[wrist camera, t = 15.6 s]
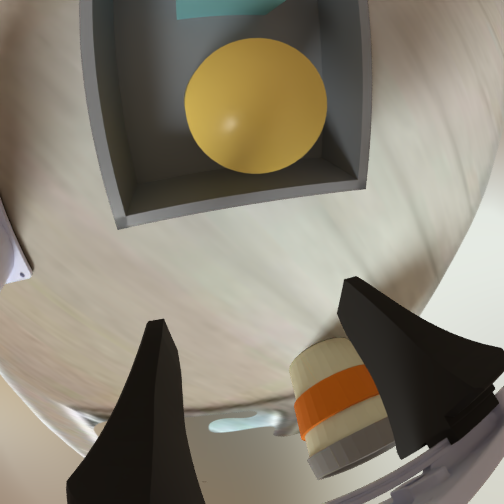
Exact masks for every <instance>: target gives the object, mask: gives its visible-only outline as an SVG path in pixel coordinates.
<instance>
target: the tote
mask: <svg viewBox="0 0 504 504" xmlns="http://www.w3.org/2000/svg"><path fill="white" fill-rule="evenodd" d="M79 17H80V45H81V59H82V69H83V79H84V87H85V94H86V101H87V107H88V113H89V119H90V125H91V130H92V135H93V140H94V145H95V149H96V154H97V158H98V162H99V166H100V170H101V174H102V178H103V182H104V186H105V189H106V193H107V197H108V200H109V203H110V207H111V210H112V213H113V217H114V220H115V223H116V226H117V229H118V230H119V229H124V228H128V227H133V226H137V225H142V224H147V223H152V222H156V221H161V220H166V219H171V218H176V217H181V216H187V215H192V214H197V213H203V212H208V211H214V210H220V209H225V208H231V207H237V206H243V205H249V204H256V203H262V202H269V201H275V200H282V199H289V198H296V197H303V196H311V195H319V194H327V193H335V192H343V191H352V190H361V189H366V181H367V172H368V161H369V149H370V134H371V114H372V51H371V33H370V20H369V9H368V0H286V1H285V2H283V3H282V4H280V5H279V6H277V7H276V8H274V9H273V10H272V11H270V12H269V13H268V14H266V15H224V16H208V17H197V18H188V19H180V20H177V14H176V0H80V7H79ZM248 38H266V39H272V40H276V41H280V42H282V43H285V44H288V45H289V46H291V47H293V48H295V49H297V50H298V51H299V52H301V53H302V54H303V55H304V56H306V57H307V58H308V59H309V60H310V62H311V63H312V64H313V65H314V66H315V68H316V69H317V71H318V73H319V74H320V76H321V79H322V81H323V84H324V87H325V90H326V96H327V113H326V119H325V123H324V126H323V129H322V131H321V133H320V135H319V137H318V139H317V141H316V142H315V144H314V145H313V146H312V147H311V149H310V150H309V151H308V152H307V153H306V154H305V155H304V156H303V157H302V158H300V159H299V160H297V161H296V162H295V163H293V164H291V165H289V166H287V167H285V168H282V169H280V170H277V171H273V172H269V173H262V174H250V173H242V172H237V171H234V170H231V169H228V168H226V167H224V166H222V165H220V164H218V163H217V162H215V161H214V160H212V159H211V158H210V157H209V156H208V155H206V154H205V153H204V151H203V150H202V149H201V148H200V147H199V146H198V144H197V142H196V141H195V139H194V138H193V135H192V133H191V131H190V129H189V125H188V122H187V117H186V112H185V106H184V93H185V89H186V86H187V84H188V82H189V80H190V78H191V77H192V75H193V74H194V73H195V71H196V70H197V69H198V67H199V66H200V65H201V64H202V63H203V61H204V60H205V59H206V58H207V57H209V56H210V55H211V54H212V53H213V52H215V51H216V50H218V49H219V48H221V47H223V46H225V45H227V44H229V43H232V42H235V41H238V40H242V39H248Z"/></svg>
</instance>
